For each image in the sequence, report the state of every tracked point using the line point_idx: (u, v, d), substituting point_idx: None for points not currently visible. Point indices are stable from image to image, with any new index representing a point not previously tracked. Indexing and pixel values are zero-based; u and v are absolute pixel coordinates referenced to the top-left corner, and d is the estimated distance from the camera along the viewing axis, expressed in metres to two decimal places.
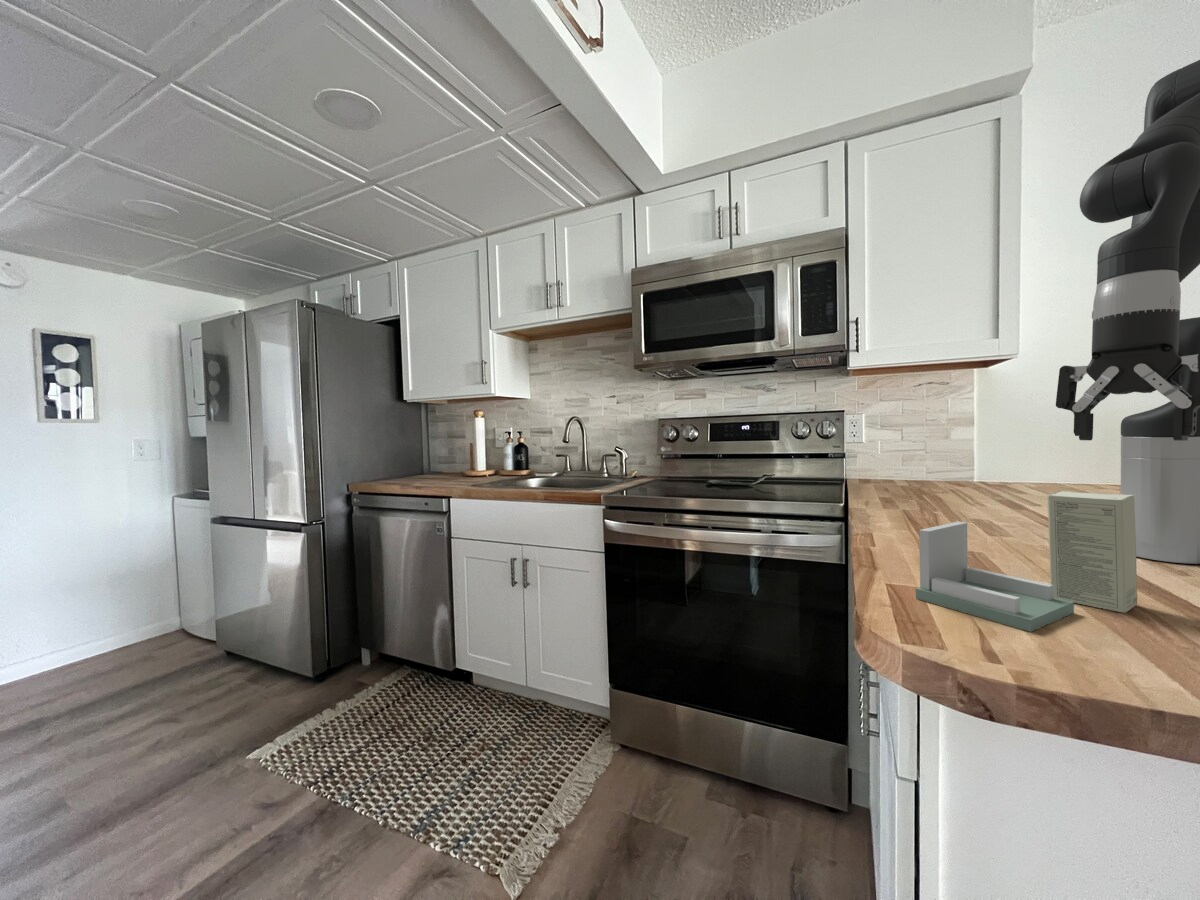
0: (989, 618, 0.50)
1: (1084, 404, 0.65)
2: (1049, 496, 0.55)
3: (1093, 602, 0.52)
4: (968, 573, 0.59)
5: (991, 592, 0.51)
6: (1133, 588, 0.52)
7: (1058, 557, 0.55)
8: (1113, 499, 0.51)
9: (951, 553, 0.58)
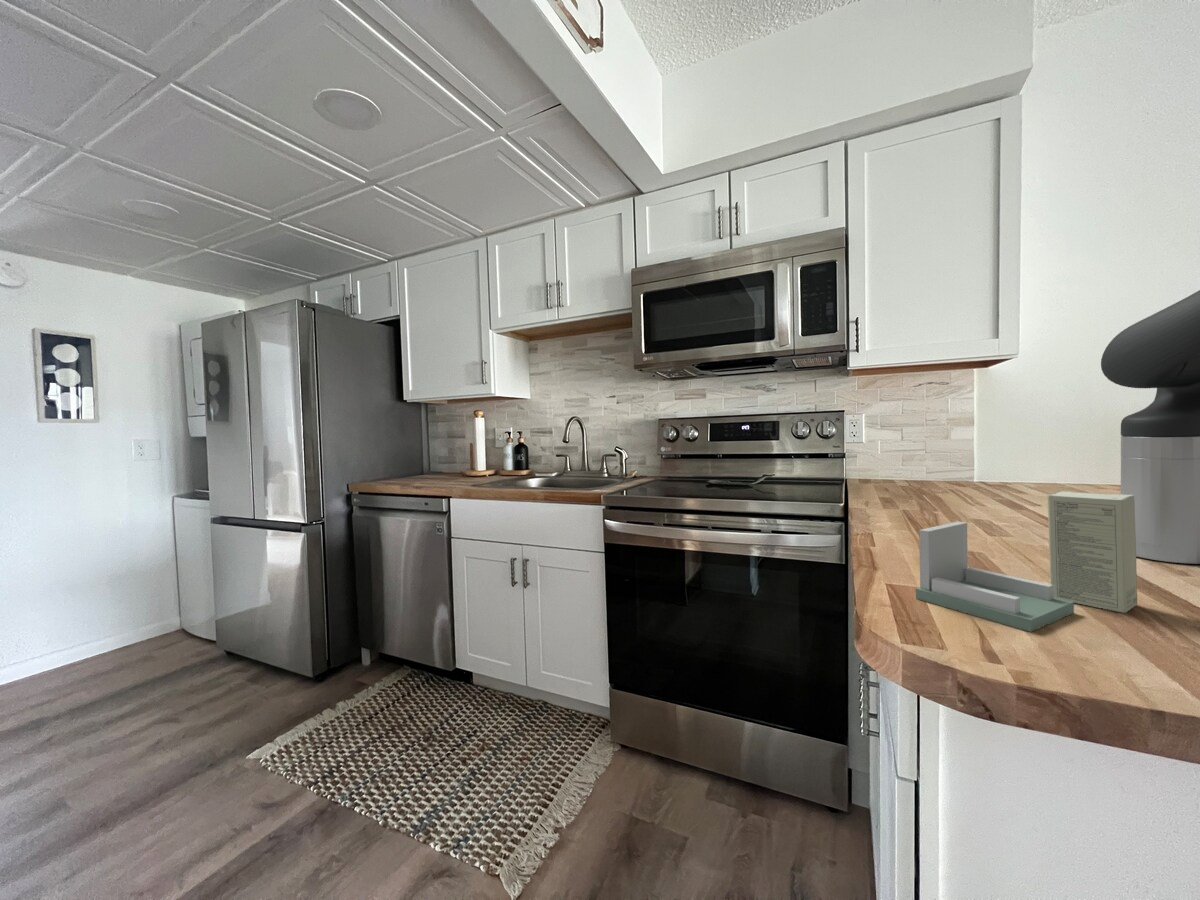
0: (989, 618, 0.50)
1: None
2: (1049, 496, 0.55)
3: (1093, 602, 0.52)
4: (968, 573, 0.59)
5: (991, 592, 0.51)
6: (1133, 588, 0.52)
7: (1058, 557, 0.55)
8: (1113, 499, 0.51)
9: (951, 553, 0.58)
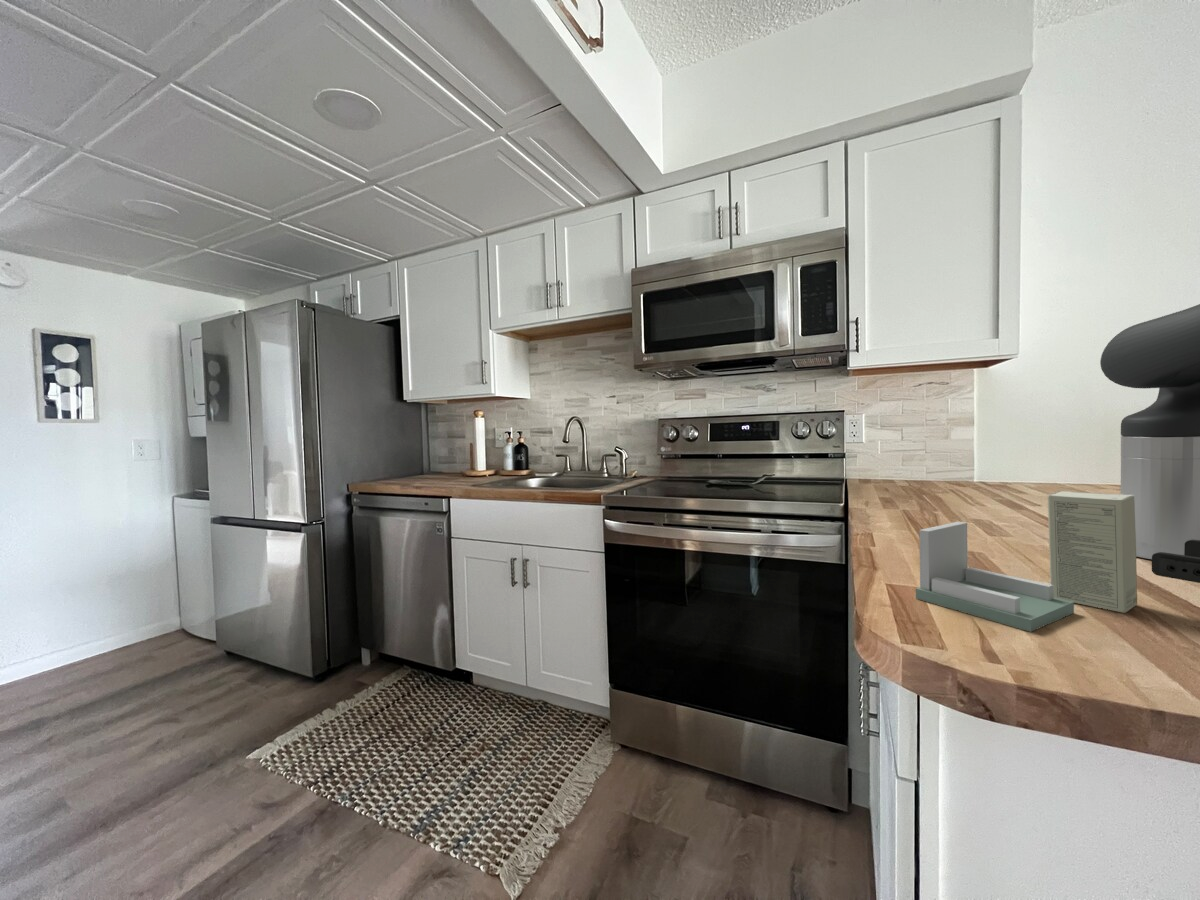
0: (989, 618, 0.50)
1: None
2: (1049, 496, 0.55)
3: (1093, 602, 0.52)
4: (968, 573, 0.59)
5: (991, 592, 0.51)
6: (1133, 588, 0.52)
7: (1058, 557, 0.55)
8: (1113, 499, 0.50)
9: (951, 553, 0.58)
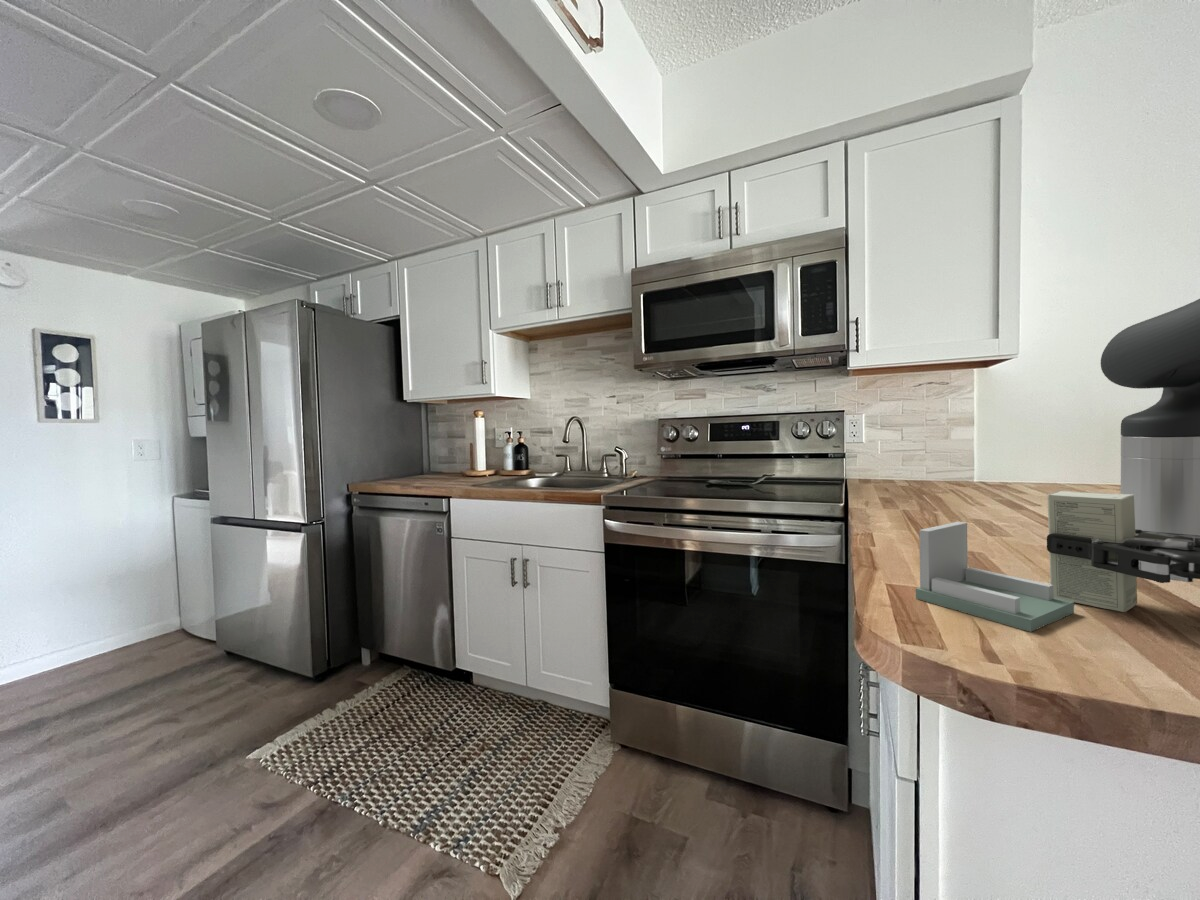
0: (989, 618, 0.50)
1: None
2: (1049, 495, 0.55)
3: (1093, 601, 0.52)
4: (968, 573, 0.59)
5: (991, 592, 0.51)
6: (1133, 588, 0.52)
7: (1058, 557, 0.55)
8: (1112, 499, 0.51)
9: (951, 553, 0.58)
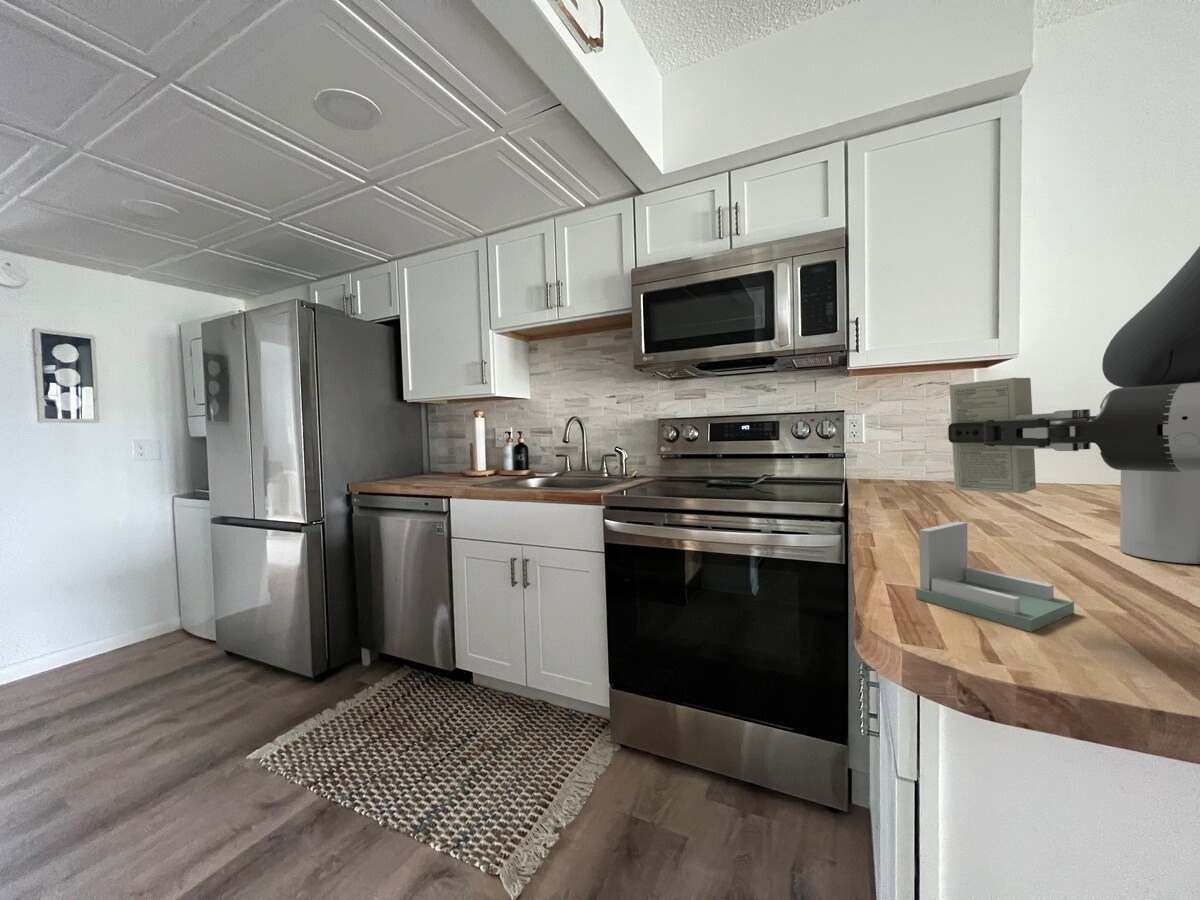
0: (989, 618, 0.50)
1: None
2: (950, 386, 0.54)
3: (991, 487, 0.52)
4: (968, 573, 0.59)
5: (991, 592, 0.51)
6: (1030, 471, 0.51)
7: (959, 447, 0.54)
8: (1006, 379, 0.50)
9: (951, 553, 0.58)
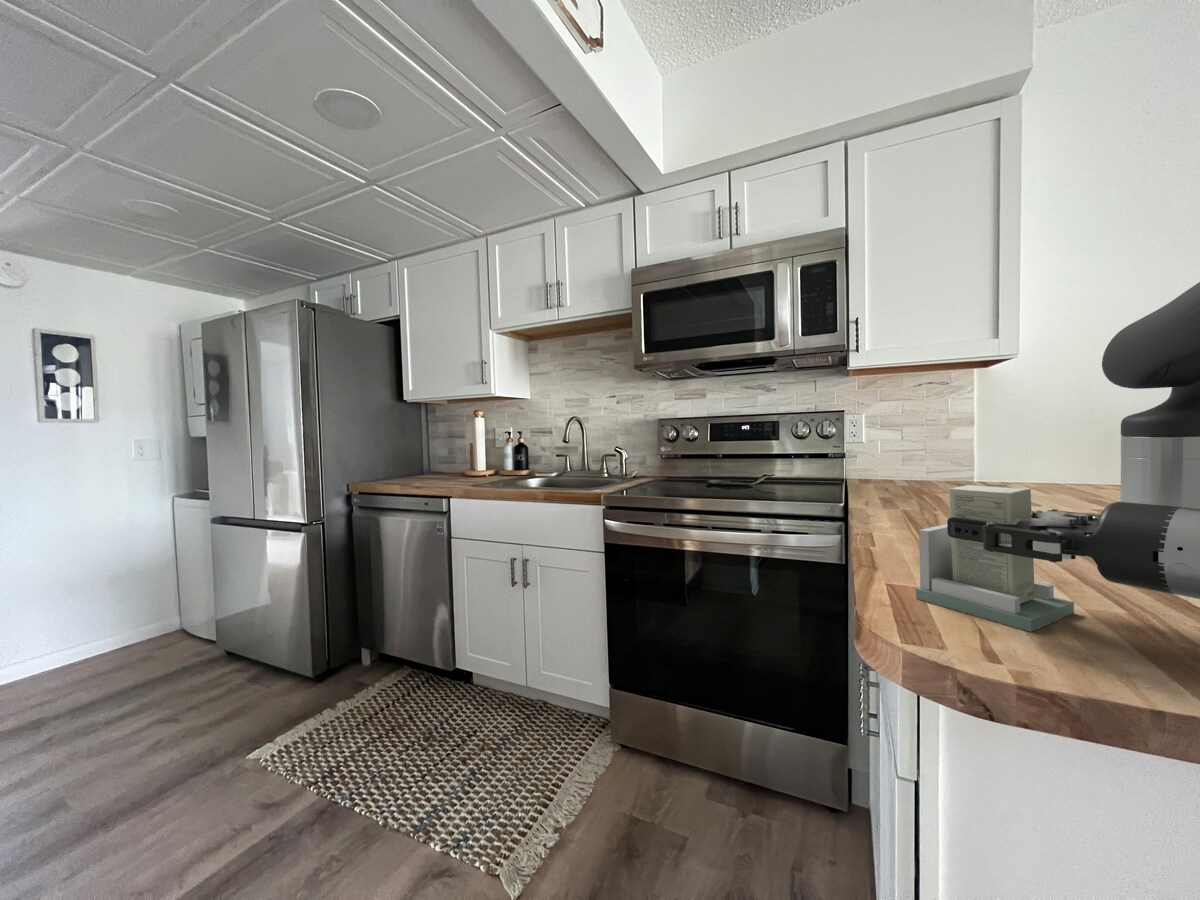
0: (989, 618, 0.50)
1: None
2: (950, 489, 0.55)
3: None
4: None
5: (991, 592, 0.51)
6: (1027, 582, 0.51)
7: (958, 550, 0.55)
8: (1003, 492, 0.51)
9: (951, 553, 0.58)
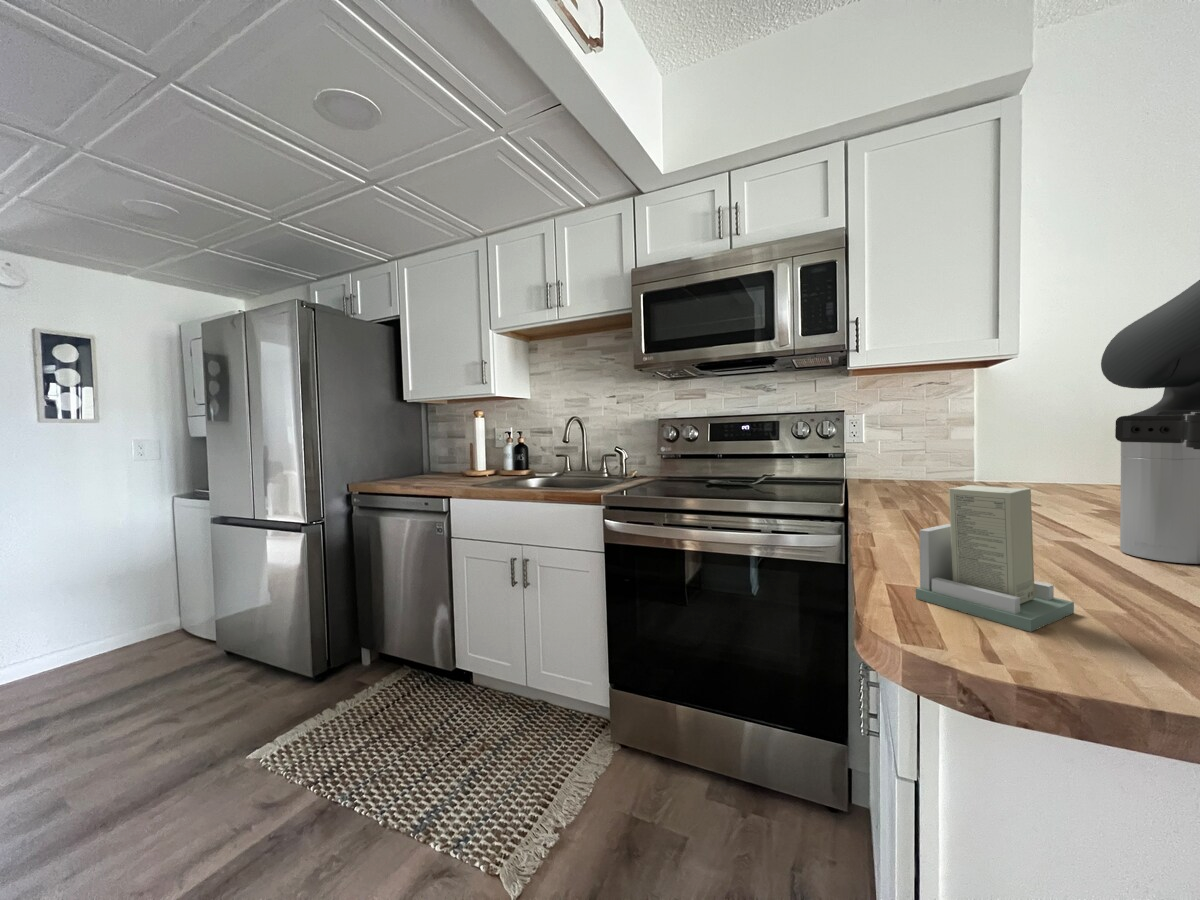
0: (989, 618, 0.50)
1: None
2: (950, 489, 0.55)
3: None
4: None
5: (991, 592, 0.51)
6: (1027, 582, 0.51)
7: (958, 550, 0.55)
8: (1003, 492, 0.51)
9: (951, 553, 0.58)
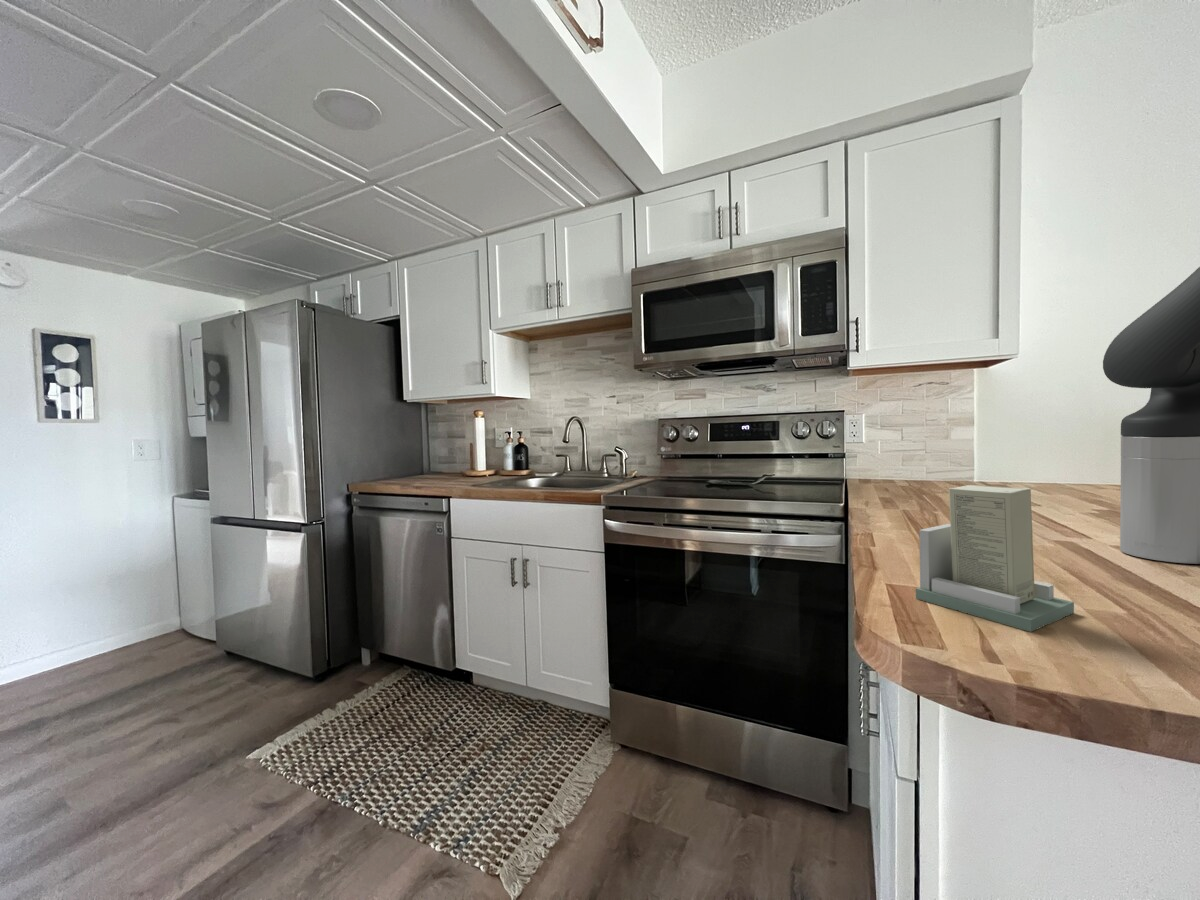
0: (989, 618, 0.50)
1: None
2: (950, 489, 0.55)
3: None
4: None
5: (991, 592, 0.51)
6: (1027, 582, 0.51)
7: (958, 550, 0.55)
8: (1003, 492, 0.51)
9: (951, 553, 0.58)
